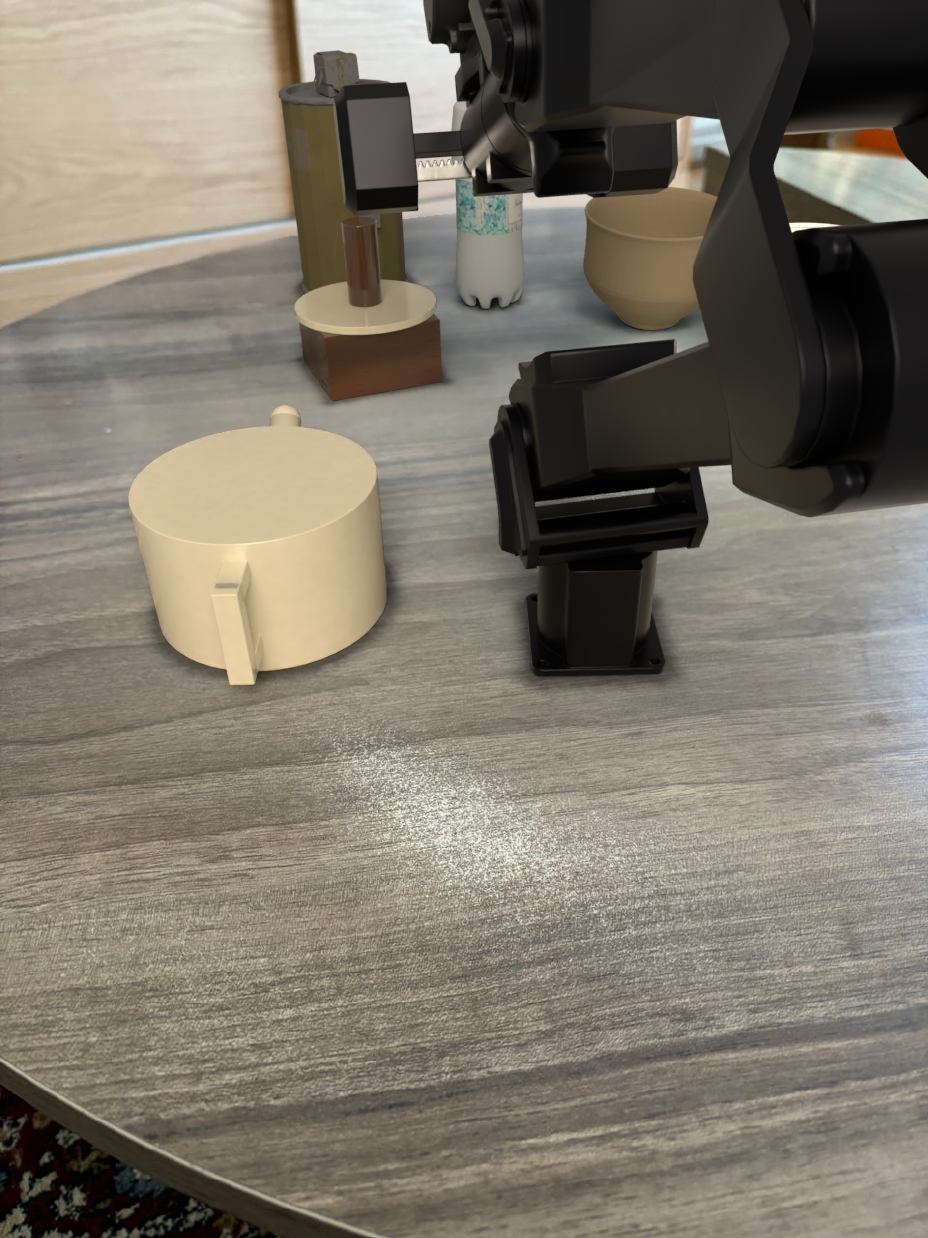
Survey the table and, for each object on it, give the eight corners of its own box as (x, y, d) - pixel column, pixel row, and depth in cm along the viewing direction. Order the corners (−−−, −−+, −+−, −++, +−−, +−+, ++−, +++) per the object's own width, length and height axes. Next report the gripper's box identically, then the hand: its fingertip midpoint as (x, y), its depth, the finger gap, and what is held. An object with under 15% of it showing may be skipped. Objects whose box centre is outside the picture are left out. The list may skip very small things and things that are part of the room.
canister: (288, 279, 100) (259, 51, 88) (385, 264, 103) (370, 42, 91) (323, 312, 92) (296, 66, 80) (426, 294, 95) (415, 55, 83)
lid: (435, 333, 73) (431, 240, 69) (285, 336, 73) (273, 244, 69) (438, 284, 82) (434, 200, 78) (304, 288, 82) (294, 203, 78)
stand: (442, 381, 78) (440, 319, 75) (331, 401, 76) (324, 337, 73) (406, 343, 85) (402, 284, 82) (303, 360, 83) (296, 300, 80)
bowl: (612, 359, 81) (620, 232, 75) (558, 308, 91) (562, 192, 85) (751, 340, 84) (770, 216, 78) (685, 293, 94) (697, 179, 88)
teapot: (376, 705, 47) (362, 574, 43) (117, 710, 48) (77, 580, 43) (397, 499, 63) (389, 389, 59) (203, 504, 63) (180, 393, 59)
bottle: (520, 314, 90) (522, 63, 78) (447, 311, 91) (438, 63, 79) (531, 290, 95) (534, 51, 83) (462, 287, 96) (456, 51, 84)
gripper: (718, -89, 47) (616, 21, 62) (324, -76, 45) (316, 36, 60) (723, 164, 50) (624, 211, 65) (353, 190, 47) (339, 233, 62)
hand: (480, 170), depth 63 cm, fingers open, 9 cm apart
